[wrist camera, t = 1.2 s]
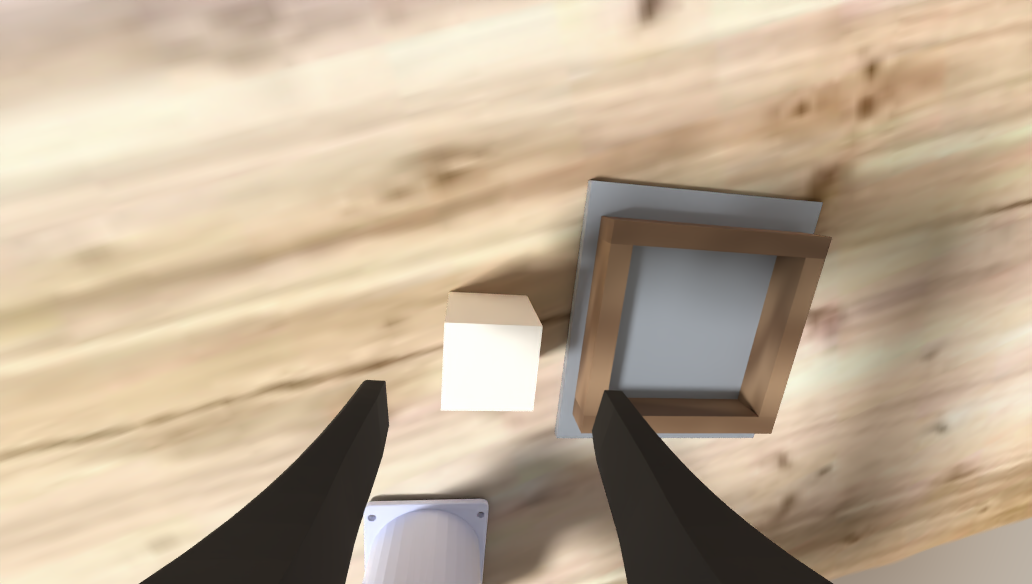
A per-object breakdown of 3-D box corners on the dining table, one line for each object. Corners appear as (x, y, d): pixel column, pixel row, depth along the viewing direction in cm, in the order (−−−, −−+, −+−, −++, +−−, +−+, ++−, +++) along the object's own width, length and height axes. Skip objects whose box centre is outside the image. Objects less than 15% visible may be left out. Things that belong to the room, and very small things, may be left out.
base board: (747, 432, 28) (753, 437, 27) (554, 432, 26) (556, 438, 25) (814, 201, 23) (822, 202, 23) (588, 180, 21) (592, 180, 21)
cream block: (519, 364, 24) (532, 411, 19) (445, 363, 24) (440, 410, 19) (526, 295, 23) (542, 326, 18) (449, 291, 22) (444, 322, 18)
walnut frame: (749, 415, 27) (771, 433, 25) (572, 413, 25) (581, 433, 23) (801, 232, 23) (832, 237, 21) (601, 215, 21) (614, 219, 20)
